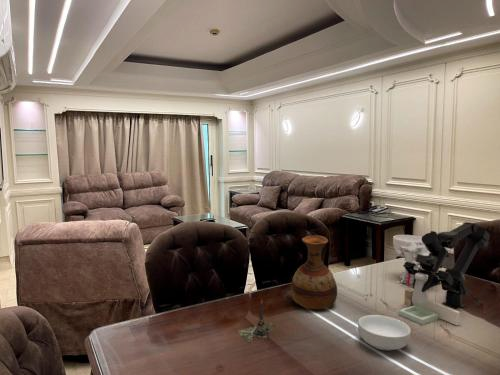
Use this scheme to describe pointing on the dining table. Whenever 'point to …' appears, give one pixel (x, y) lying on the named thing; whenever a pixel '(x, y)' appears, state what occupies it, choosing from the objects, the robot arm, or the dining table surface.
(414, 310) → the tray
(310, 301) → the brown ceramic vase
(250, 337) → the eiffel tower figurine
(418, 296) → the salt shaker
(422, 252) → the white irregular sculpture
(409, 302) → the gate post
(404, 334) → the cereal bowl
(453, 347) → the dining table surface
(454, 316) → the gate
